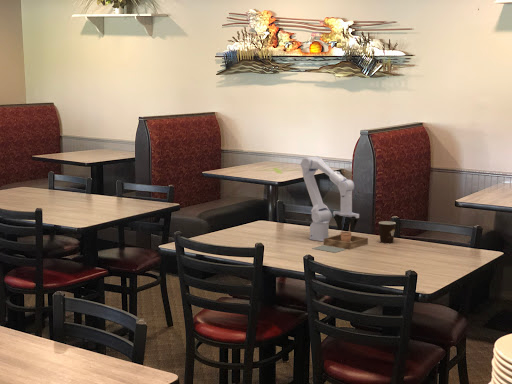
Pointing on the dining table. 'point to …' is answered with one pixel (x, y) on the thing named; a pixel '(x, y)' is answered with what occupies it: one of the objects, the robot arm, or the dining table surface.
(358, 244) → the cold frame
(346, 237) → the terracotta pot
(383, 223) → the coffee mug
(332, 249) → the rubber mat
